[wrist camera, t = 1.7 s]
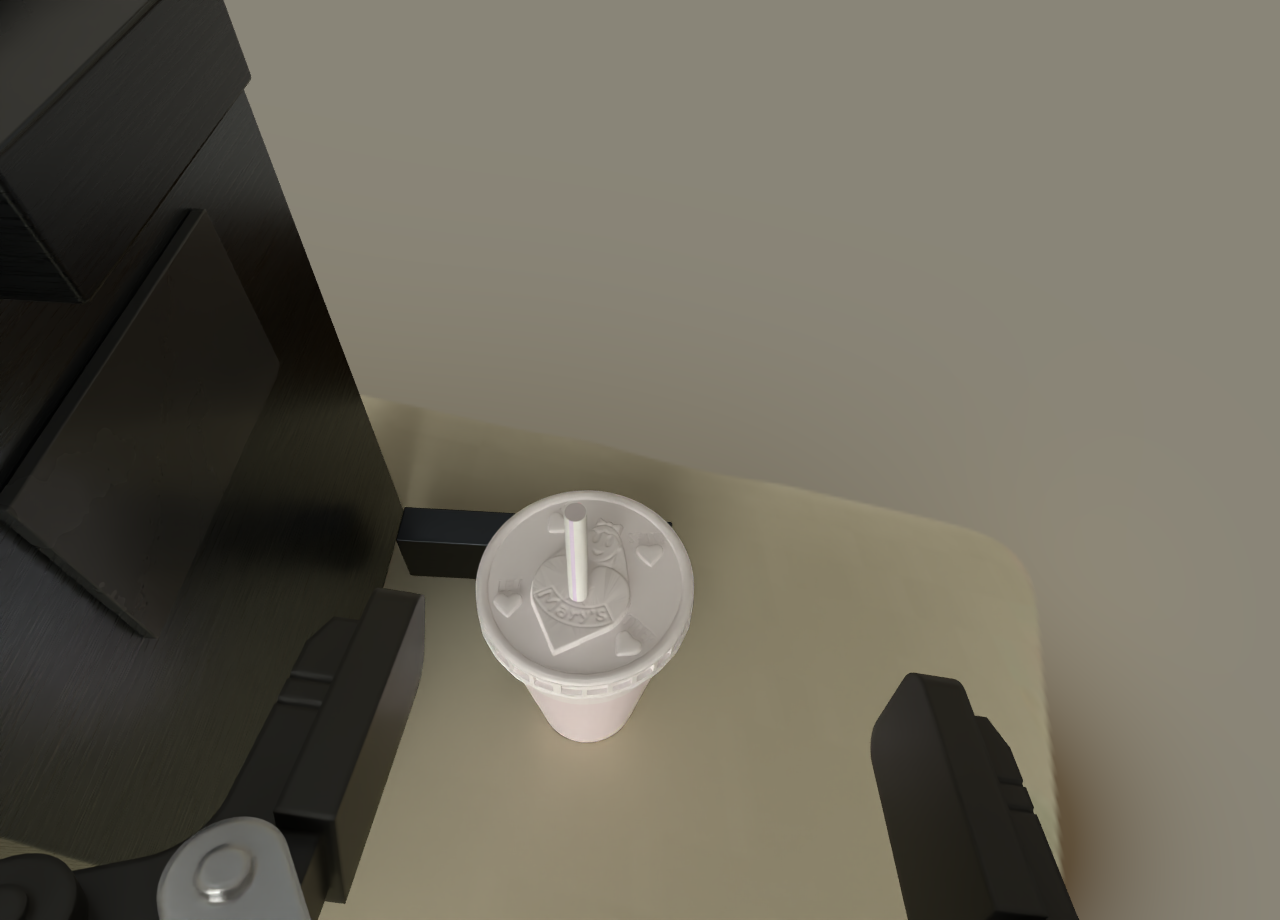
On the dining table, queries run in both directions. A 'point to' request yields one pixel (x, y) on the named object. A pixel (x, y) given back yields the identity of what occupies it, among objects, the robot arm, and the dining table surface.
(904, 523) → the dining table surface
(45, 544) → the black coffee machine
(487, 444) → the dining table surface
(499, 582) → the smoothie
